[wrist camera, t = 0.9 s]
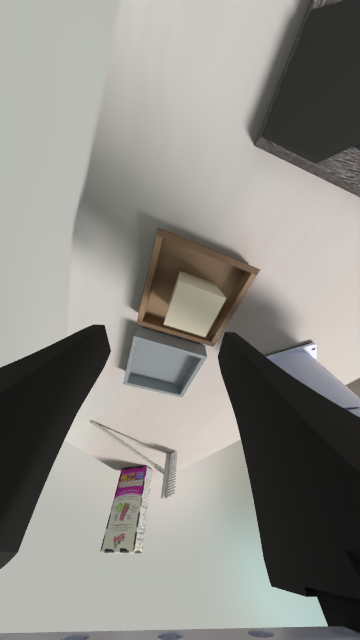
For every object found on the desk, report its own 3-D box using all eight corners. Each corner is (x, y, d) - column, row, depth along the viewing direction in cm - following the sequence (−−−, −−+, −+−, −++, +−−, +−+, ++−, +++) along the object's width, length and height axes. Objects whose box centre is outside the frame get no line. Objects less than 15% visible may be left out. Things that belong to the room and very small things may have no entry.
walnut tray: (210, 336, 21) (213, 346, 19) (141, 314, 19) (136, 323, 17) (250, 266, 16) (260, 269, 14) (161, 229, 14) (157, 227, 12)
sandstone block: (200, 314, 19) (205, 337, 14) (168, 304, 18) (163, 324, 14) (215, 283, 16) (226, 298, 12) (179, 270, 16) (178, 281, 11)
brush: (109, 398, 38) (85, 435, 30) (177, 449, 44) (174, 494, 35) (101, 404, 39) (76, 442, 31) (169, 454, 44) (164, 499, 36)
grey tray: (182, 385, 27) (182, 397, 25) (127, 372, 25) (122, 383, 23) (204, 345, 22) (207, 356, 20) (138, 326, 20) (133, 336, 18)
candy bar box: (128, 472, 55) (109, 553, 40) (121, 468, 52) (98, 552, 38) (153, 469, 52) (142, 554, 38) (147, 465, 50) (132, 554, 36)
